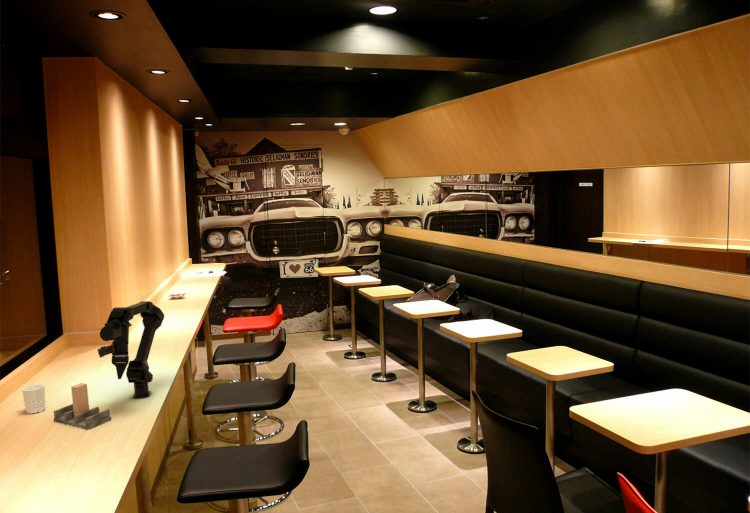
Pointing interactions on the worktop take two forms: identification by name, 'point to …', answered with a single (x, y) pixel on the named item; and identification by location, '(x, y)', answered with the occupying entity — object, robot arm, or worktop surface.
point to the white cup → (34, 398)
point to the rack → (82, 417)
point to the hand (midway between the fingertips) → (119, 377)
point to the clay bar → (80, 398)
